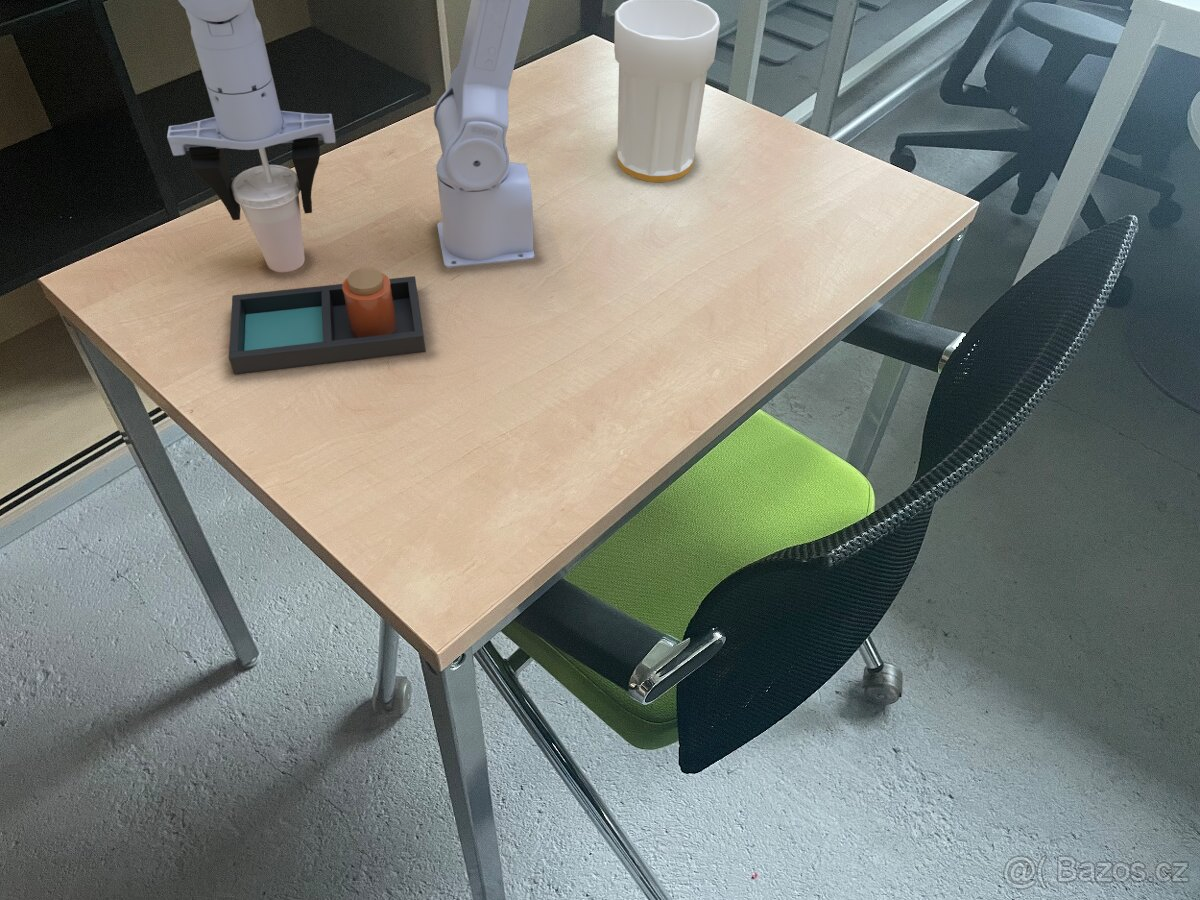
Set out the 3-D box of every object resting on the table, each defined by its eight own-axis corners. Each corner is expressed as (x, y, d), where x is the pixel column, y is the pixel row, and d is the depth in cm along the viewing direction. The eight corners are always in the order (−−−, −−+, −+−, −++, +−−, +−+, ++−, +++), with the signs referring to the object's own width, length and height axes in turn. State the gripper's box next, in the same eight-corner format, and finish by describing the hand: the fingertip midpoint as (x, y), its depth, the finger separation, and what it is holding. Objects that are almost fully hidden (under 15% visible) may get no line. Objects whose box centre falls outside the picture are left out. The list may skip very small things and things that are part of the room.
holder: (238, 314, 93) (232, 295, 91) (417, 294, 96) (414, 275, 94) (235, 377, 87) (228, 358, 85) (426, 354, 90) (423, 335, 88)
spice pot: (395, 309, 94) (387, 261, 90) (398, 338, 91) (390, 290, 87) (349, 314, 93) (339, 266, 89) (351, 343, 90) (341, 295, 86)
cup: (589, 168, 113) (594, 20, 100) (637, 128, 120) (647, -15, 107) (673, 198, 109) (688, 50, 96) (718, 155, 116) (738, 11, 103)
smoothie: (303, 287, 96) (271, 163, 86) (243, 277, 97) (205, 154, 87) (327, 250, 101) (300, 128, 90) (270, 241, 101) (237, 119, 91)
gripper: (322, 52, 88) (346, 182, 98) (156, 63, 85) (198, 195, 95) (324, 89, 83) (349, 221, 93) (149, 102, 81) (194, 236, 91)
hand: (273, 210), depth 94 cm, fingers closed on smoothie, 6 cm apart
